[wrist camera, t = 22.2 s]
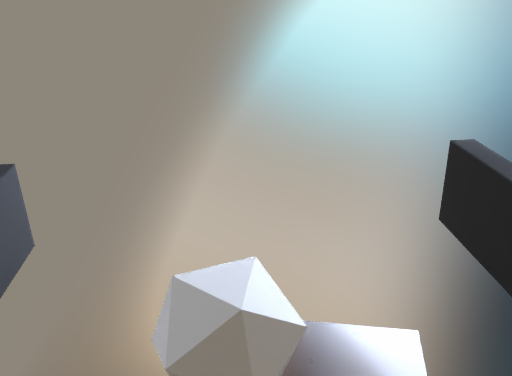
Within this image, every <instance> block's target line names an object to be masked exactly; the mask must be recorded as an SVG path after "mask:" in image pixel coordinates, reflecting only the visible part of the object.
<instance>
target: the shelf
mask: <svg viewBox="0 0 512 376" xmlns="http://www.w3.org/2000/svg"><path fill="white" fill-rule="evenodd" d="M303 322H304V323H305V324H306V326H307V328H306V330H305V332H304V334H303V336H302V338H301V340H300V342H299V344H298V345H297V347H296V349H295V351H294V353H293V355H292V357H291V359H290V361H289V363H288V365H287V367H286V368H285V370H284V372H283V374H282V376H428V375H427V370H426V365H425V361H424V355H423V351H422V346H421V341H420V336H419V332H418V331H416V330H406V329H394V328H383V327H371V326H359V325H348V324H336V323H324V322H313V321H303Z"/></svg>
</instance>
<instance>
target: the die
mask: <svg viewBox="0 0 512 376" xmlns="http://www.w3.org/2000/svg"><path fill="white" fill-rule="evenodd" d="M306 328H307V326H306V324H305V323H304V322H303V320H302V319H301V318H300V316H299V315H298V314H297V312H296V311H295V309H294V308H293V307H292V305H291V304H290V303H289V301H288V300H287V299H286V297H285V296H284V294H283V293H282V292H281V290H280V289H279V288H278V286H277V285H276V283H275V282H274V281H273V279H272V278H271V277H270V275H269V274H268V273H267V271H266V270H265V269H264V267H263V266H262V265H261V263H260V262H259V260H258V259H257V258H256V257H255V256H254V257H250V258H246V259H241V260H237V261H233V262H229V263H225V264H221V265H216V266H212V267H208V268H204V269H200V270H195V271H191V272H187V273H183V274H178V275H174V276H172V279H171V283H170V285H169V288H168V291H167V294H166V297H165V300H164V304H163V307H162V309H161V312H160V316H159V319H158V321H157V325H156V327H155V330H154V333H153V336H152V341H153V343H154V345H155V348H156V350H157V352H158V355H159V357H160V359H161V362H162V364H163V366H164V369H165V370H166V372H167V373H168V374H169V376H282V374H283V372H284V370H285V368H286V367H287V365H288V363H289V361H290V359H291V357H292V355H293V353H294V351H295V349H296V347H297V345H298V344H299V342H300V340H301V338H302V336H303V334H304V332H305V330H306Z"/></svg>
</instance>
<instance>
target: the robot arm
mask: <svg viewBox="0 0 512 376" xmlns="http://www.w3.org/2000/svg"><path fill="white" fill-rule="evenodd" d="M439 220H440V221H441V222H442V223H443V224H444V225H445V226H446V227H447V228H448V230H449V231H450V232H452V234H453V235H454V236H455V237H456V238H457V239H458V240H459V241H460V242H461V243H462V244H463V245H464V246H465V248H466V249H467V250H468V251H469V252H470V253H471V254H472V255H473V256H474V257H475V258H476V259H477V260H478V261H479V263H480V264H481V265H482V266H483V267H484V268H485V269H486V270H487V271H488V272H489V273H490V274H491V275H492V276H493V277H494V278H495V280H497V282H498V283H499V284H500V285H501V286H502V287H503V288H504V289H505V290H506V291H507V292H508V293H509V294H510V296H511V297H512V162H510V161H508V160H507V159H505V158H504V157H502V156H500V155H499V154H497V153H495V152H494V151H492V150H490V149H489V148H487V147H486V146H484V145H483V144H481V143H479V142H478V141H476V140H474V139H470V140H451V141H450V146H449V154H448V160H447V167H446V174H445V181H444V188H443V195H442V201H441V209H440V215H439ZM34 246H35V245H34V241H33V237H32V233H31V229H30V225H29V221H28V217H27V213H26V208H25V204H24V200H23V196H22V192H21V188H20V184H19V180H18V176H17V172H16V168H15V164H2V165H0V298H1V297H2V295H3V294H4V292H5V291H6V289H7V287H8V286H9V284H10V283H11V281H12V280H13V278H14V277H15V275H16V274H17V272H18V270H19V269H20V267H21V266H22V264H23V263H24V261H25V260H26V258H27V256H28V255H29V253H30V252H31V250H32V249H33V247H34Z"/></svg>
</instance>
